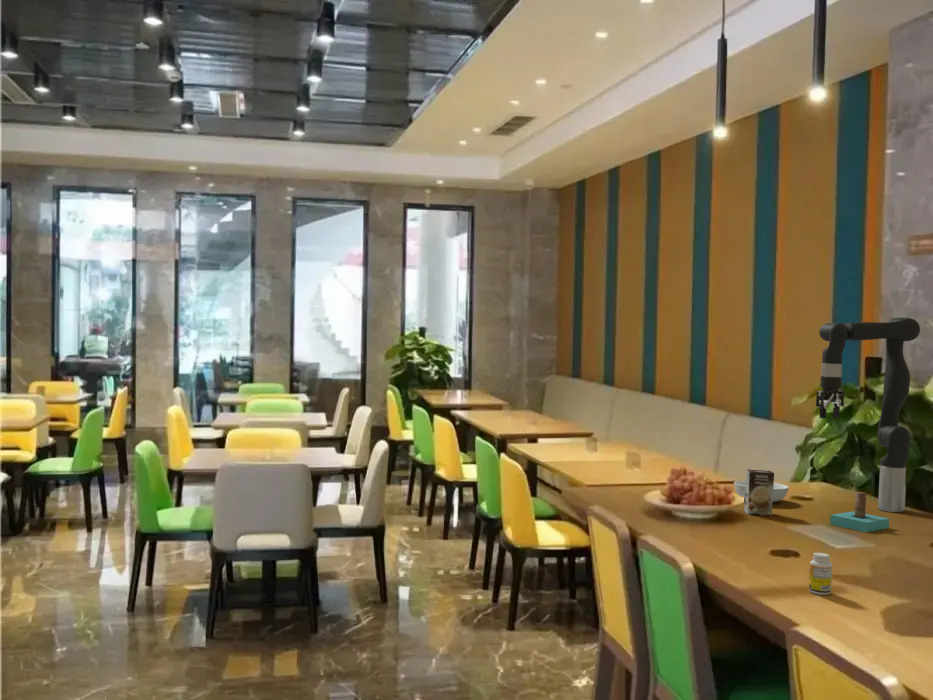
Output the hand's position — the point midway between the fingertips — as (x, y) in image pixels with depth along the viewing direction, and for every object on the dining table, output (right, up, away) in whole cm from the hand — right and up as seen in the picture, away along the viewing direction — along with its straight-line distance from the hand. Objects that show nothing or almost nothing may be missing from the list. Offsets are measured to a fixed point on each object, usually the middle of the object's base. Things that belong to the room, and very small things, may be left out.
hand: (829, 417), depth 360 cm
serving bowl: (-20, -35, +20) cm, 45 cm away
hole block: (+2, -37, -24) cm, 44 cm away
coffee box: (-29, -36, -6) cm, 46 cm away
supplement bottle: (-45, -39, -109) cm, 124 cm away
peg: (+2, -37, -24) cm, 44 cm away
